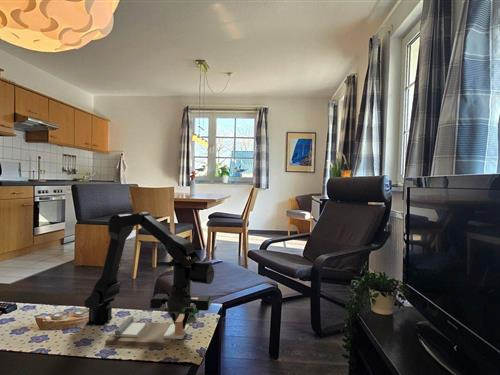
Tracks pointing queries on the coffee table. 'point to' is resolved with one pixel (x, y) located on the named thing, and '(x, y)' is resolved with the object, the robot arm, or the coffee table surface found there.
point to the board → (144, 337)
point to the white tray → (130, 328)
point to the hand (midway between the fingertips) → (180, 328)
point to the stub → (177, 329)
